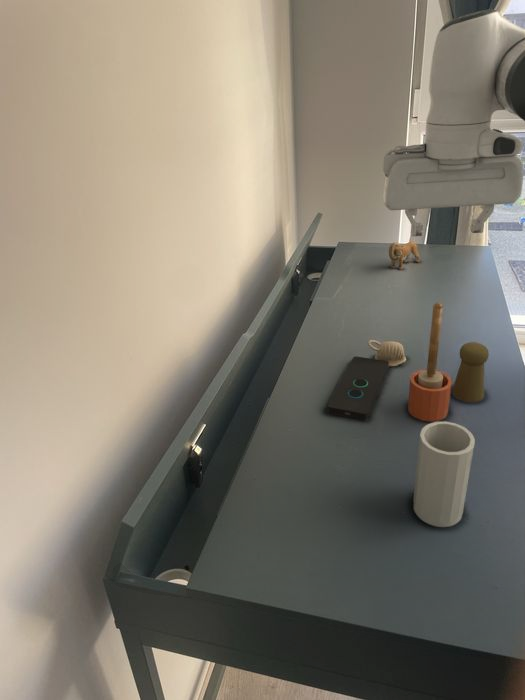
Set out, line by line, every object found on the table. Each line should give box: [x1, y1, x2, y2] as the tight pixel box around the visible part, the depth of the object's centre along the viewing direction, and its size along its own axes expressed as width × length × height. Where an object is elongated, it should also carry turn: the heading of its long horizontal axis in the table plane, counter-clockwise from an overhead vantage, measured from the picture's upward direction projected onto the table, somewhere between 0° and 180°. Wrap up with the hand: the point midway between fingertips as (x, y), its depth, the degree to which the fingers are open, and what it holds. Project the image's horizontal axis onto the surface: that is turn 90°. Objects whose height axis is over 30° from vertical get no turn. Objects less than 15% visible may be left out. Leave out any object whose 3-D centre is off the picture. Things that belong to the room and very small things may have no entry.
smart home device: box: [327, 355, 390, 421], centre depth 109 cm, size 8×2×20 cm
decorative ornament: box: [367, 339, 407, 367], centre depth 117 cm, size 4×8×5 cm, turn 75°
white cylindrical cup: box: [412, 421, 476, 528], centre depth 77 cm, size 7×7×14 cm
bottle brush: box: [418, 301, 444, 389], centre depth 96 cm, size 4×4×22 cm
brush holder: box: [407, 368, 453, 423], centre depth 100 cm, size 7×7×7 cm
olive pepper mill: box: [451, 341, 490, 403], centre depth 103 cm, size 6×6×11 cm
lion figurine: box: [388, 241, 420, 270], centre depth 164 cm, size 15×5×9 cm, turn 135°
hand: (446, 233), depth 84 cm, fingers open, 8 cm apart
